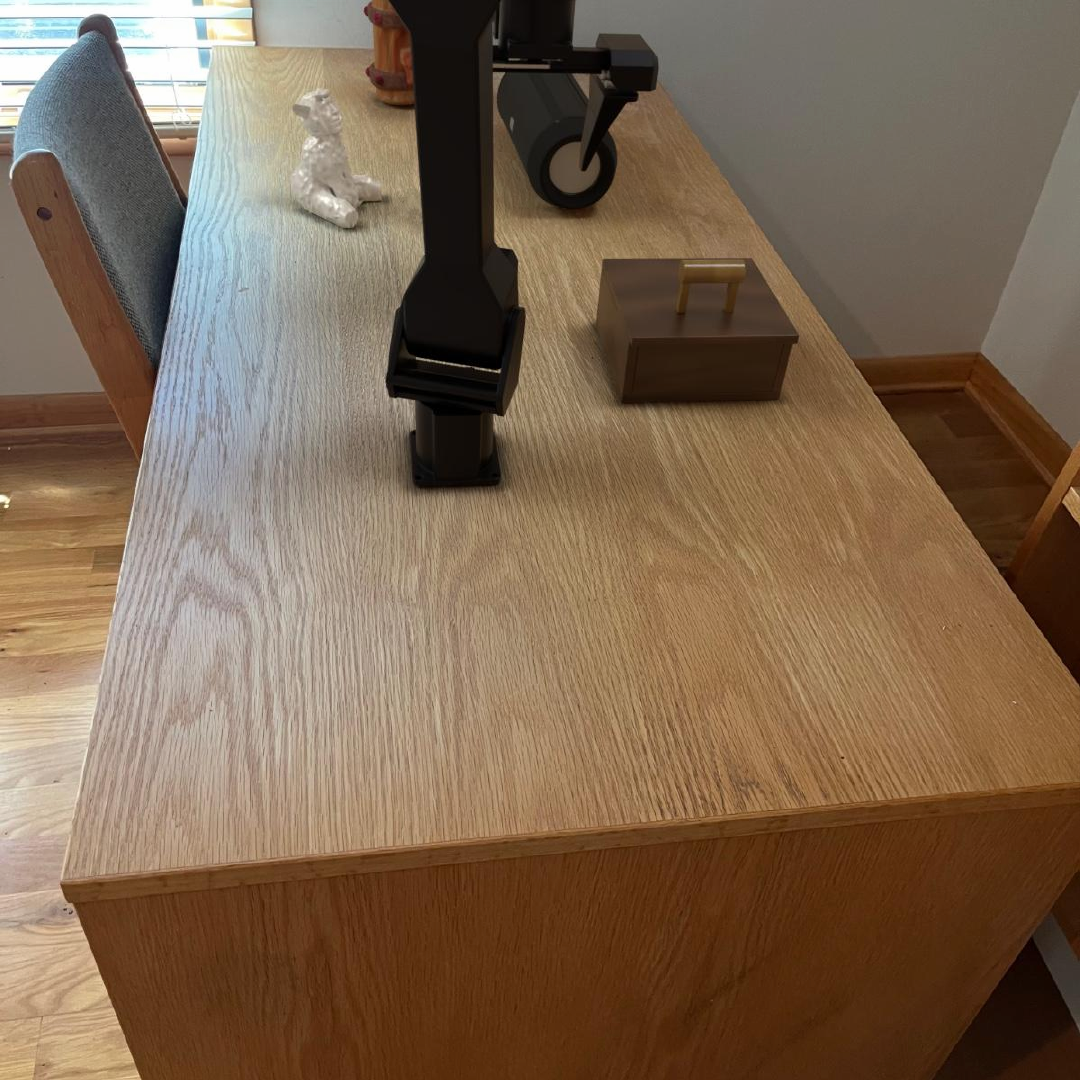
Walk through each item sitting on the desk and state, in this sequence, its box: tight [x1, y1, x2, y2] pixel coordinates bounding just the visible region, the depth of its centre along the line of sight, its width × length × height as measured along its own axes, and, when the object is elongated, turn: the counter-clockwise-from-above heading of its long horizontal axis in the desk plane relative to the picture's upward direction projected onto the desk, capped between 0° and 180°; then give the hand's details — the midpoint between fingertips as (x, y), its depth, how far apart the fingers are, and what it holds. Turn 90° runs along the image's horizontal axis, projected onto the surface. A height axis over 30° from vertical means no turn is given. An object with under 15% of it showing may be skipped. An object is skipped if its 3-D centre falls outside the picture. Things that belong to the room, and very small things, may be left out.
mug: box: [363, 0, 414, 106], centre depth 128 cm, size 15×8×15 cm, turn 25°
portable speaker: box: [496, 59, 618, 211], centre depth 117 cm, size 26×10×10 cm, turn 11°
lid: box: [601, 257, 800, 346], centre depth 84 cm, size 13×14×5 cm
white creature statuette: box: [290, 87, 383, 229], centre depth 105 cm, size 10×9×12 cm
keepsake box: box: [595, 267, 794, 404], centre depth 88 cm, size 13×14×6 cm
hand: (528, 169), depth 85 cm, fingers open, 9 cm apart
